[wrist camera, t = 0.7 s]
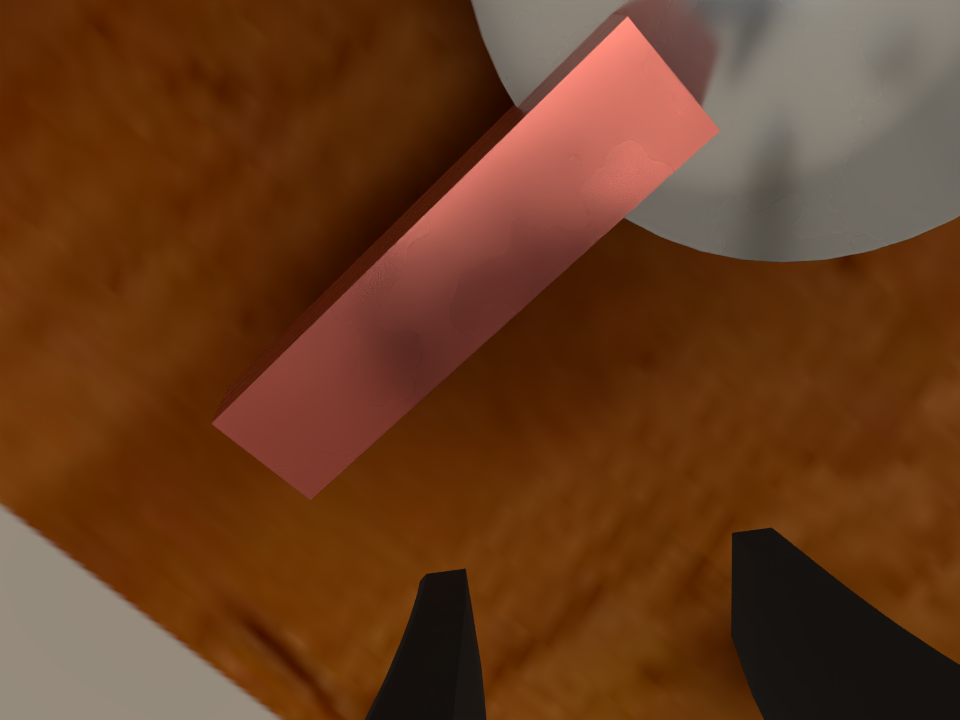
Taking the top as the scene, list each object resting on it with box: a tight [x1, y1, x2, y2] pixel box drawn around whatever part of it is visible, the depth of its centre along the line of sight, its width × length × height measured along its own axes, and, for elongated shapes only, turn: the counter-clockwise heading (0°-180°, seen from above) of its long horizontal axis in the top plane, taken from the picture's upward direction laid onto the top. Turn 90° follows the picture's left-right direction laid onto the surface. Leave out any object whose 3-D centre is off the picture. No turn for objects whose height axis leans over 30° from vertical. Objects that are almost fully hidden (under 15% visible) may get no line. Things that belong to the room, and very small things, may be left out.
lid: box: [211, 0, 960, 500], centre depth 14 cm, size 20×13×2 cm, turn 134°
